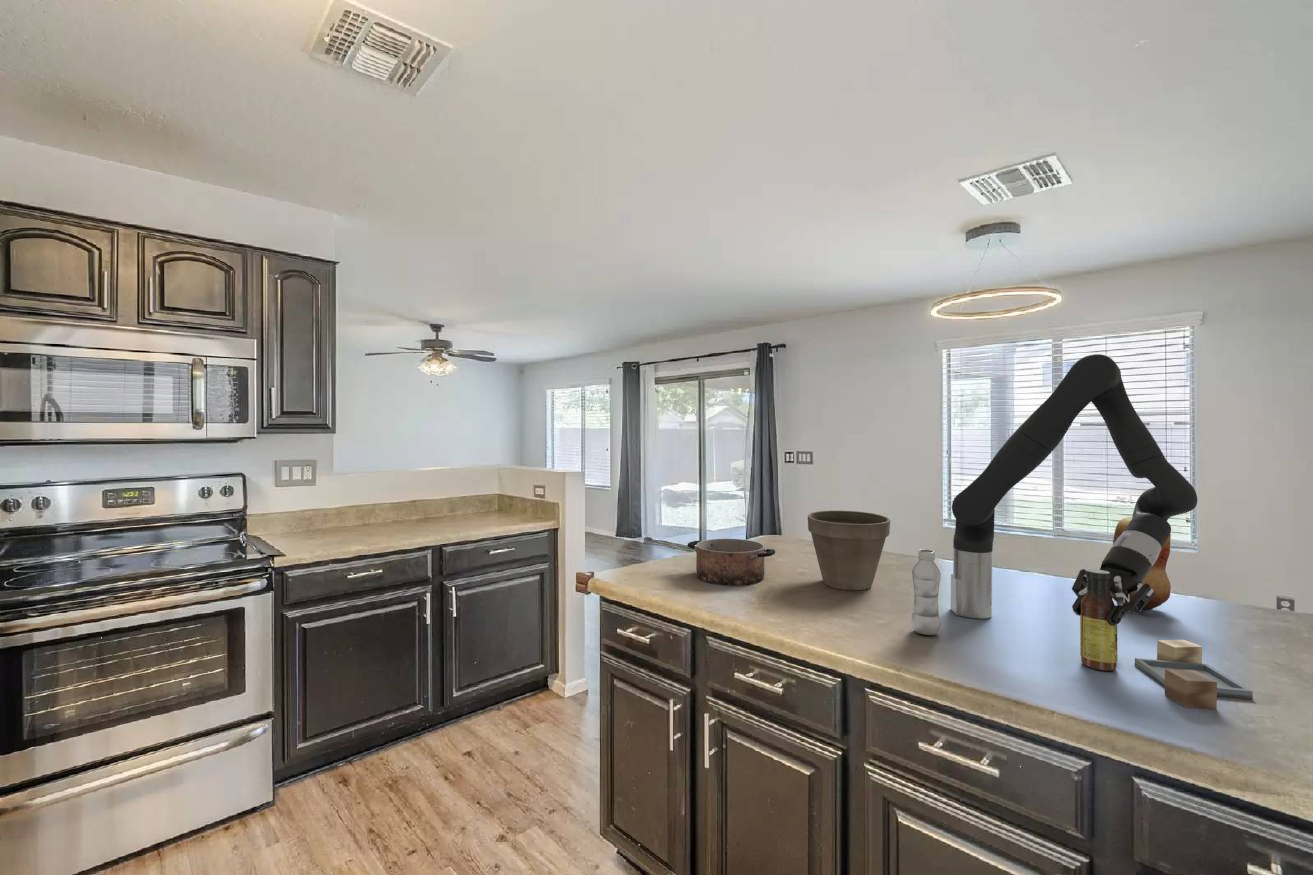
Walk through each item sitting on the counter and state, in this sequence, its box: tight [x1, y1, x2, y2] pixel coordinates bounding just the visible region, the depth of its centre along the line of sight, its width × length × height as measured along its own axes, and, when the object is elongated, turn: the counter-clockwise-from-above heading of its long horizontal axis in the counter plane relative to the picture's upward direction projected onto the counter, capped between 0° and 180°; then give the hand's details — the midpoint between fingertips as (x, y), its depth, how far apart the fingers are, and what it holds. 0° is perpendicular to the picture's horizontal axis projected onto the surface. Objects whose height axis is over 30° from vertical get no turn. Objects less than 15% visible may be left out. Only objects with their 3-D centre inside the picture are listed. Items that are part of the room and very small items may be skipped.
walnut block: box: [1164, 669, 1218, 710], centre depth 107 cm, size 5×5×5 cm
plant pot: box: [807, 510, 891, 591], centre depth 185 cm, size 25×25×22 cm
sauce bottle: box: [1079, 568, 1119, 672], centre depth 122 cm, size 6×6×20 cm
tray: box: [1134, 657, 1254, 700], centre depth 115 cm, size 13×13×2 cm
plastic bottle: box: [910, 549, 942, 636], centre depth 142 cm, size 6×7×20 cm
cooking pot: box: [687, 538, 776, 587], centre depth 195 cm, size 30×22×11 cm
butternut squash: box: [1111, 516, 1172, 612], centre depth 160 cm, size 14×13×25 cm
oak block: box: [1156, 639, 1203, 664], centre depth 124 cm, size 6×4×4 cm, turn 94°
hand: (1092, 617), depth 122 cm, fingers closed on sauce bottle, 6 cm apart
